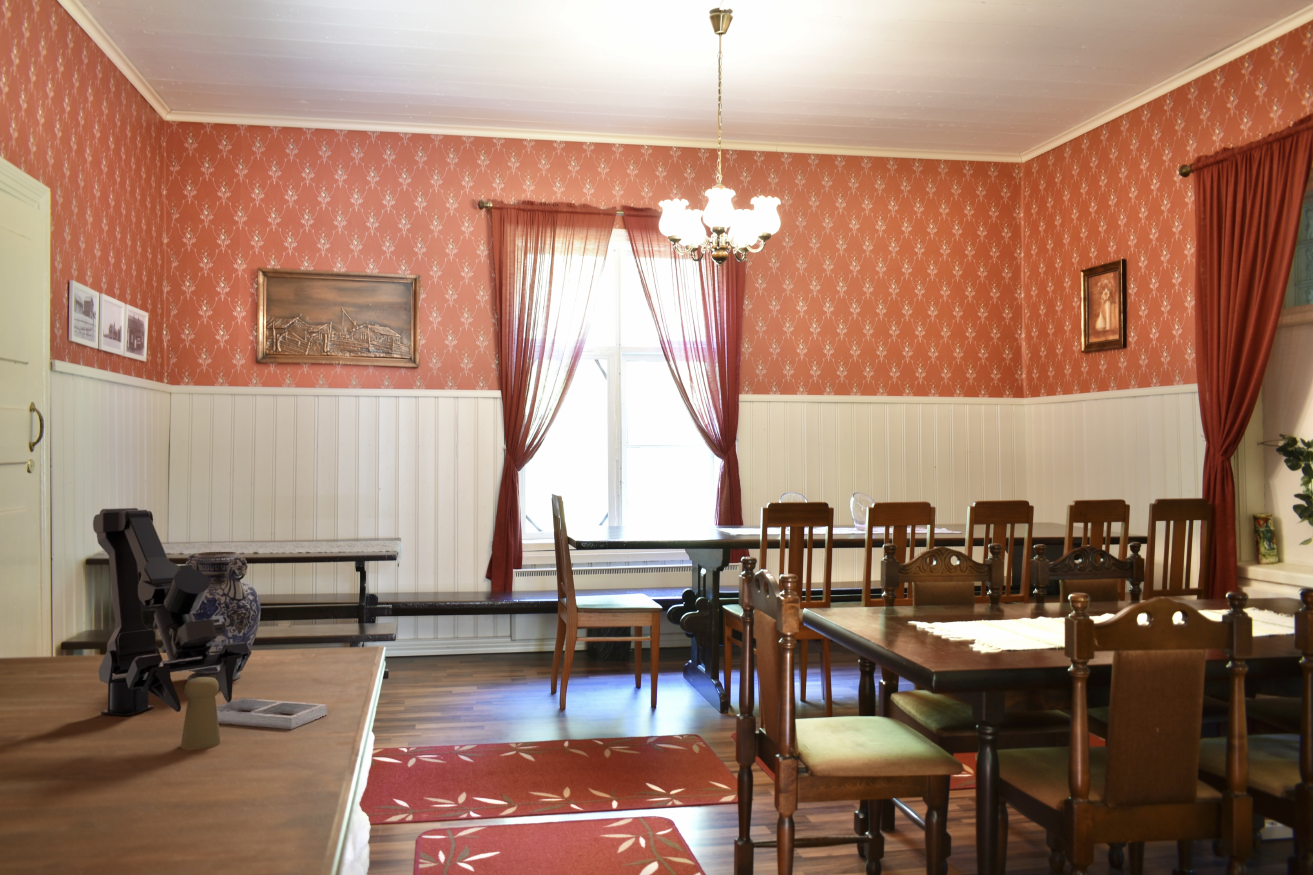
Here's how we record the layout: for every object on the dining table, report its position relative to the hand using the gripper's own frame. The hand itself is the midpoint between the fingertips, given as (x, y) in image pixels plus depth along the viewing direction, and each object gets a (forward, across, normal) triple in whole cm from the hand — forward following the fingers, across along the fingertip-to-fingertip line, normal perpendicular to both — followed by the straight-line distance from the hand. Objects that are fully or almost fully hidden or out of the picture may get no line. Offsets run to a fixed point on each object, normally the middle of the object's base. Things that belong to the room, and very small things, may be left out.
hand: (205, 705), depth 154 cm
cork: (+4, 0, +6) cm, 7 cm away
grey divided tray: (-2, +15, +11) cm, 19 cm away
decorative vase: (-31, +23, +41) cm, 56 cm away
